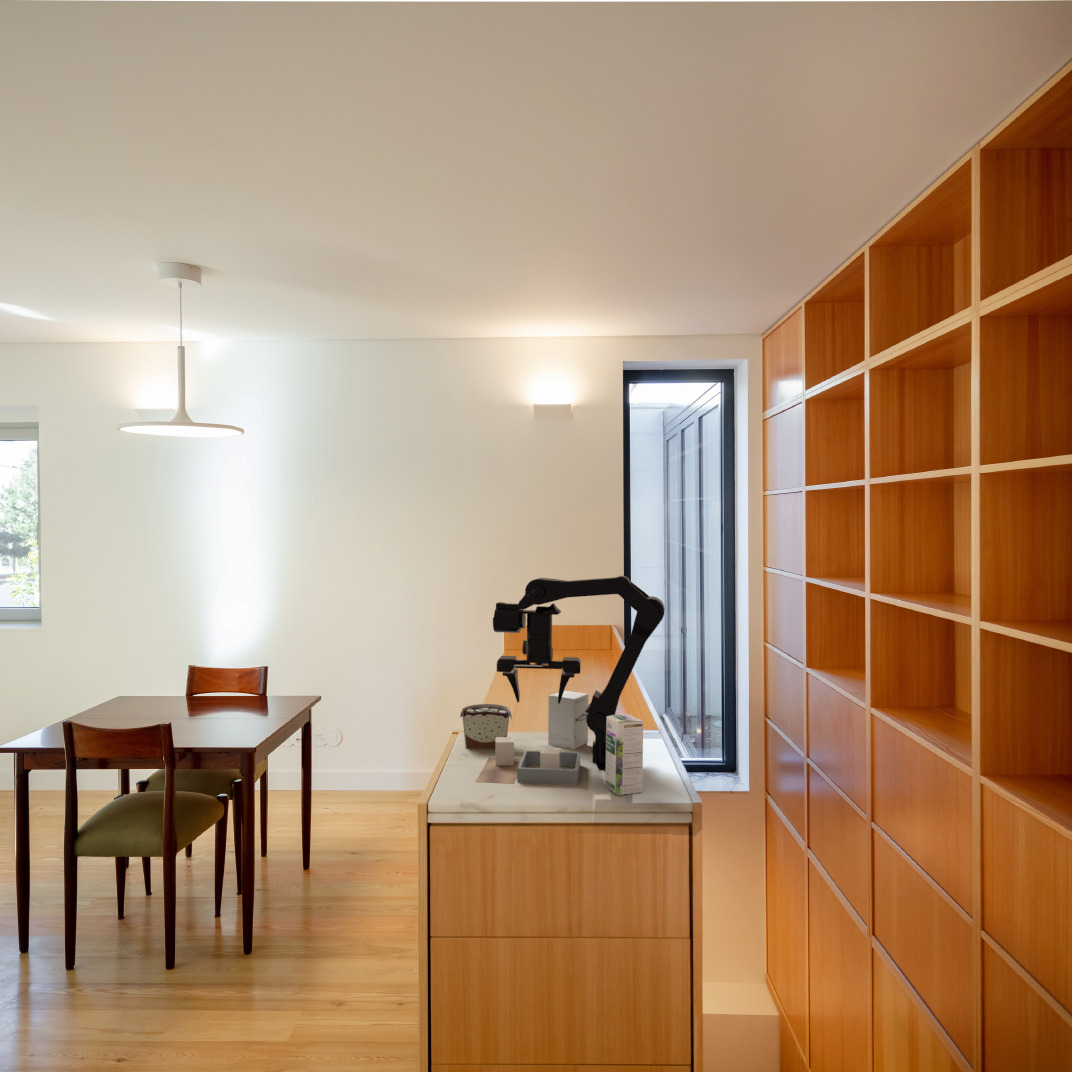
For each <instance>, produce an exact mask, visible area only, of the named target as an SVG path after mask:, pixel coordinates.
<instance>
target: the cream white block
mask: <svg viewBox="0 0 1072 1072" xmlns="http://www.w3.org/2000/svg"><path fill="white" fill-rule="evenodd" d="M494 751H495V752H494V753H495V754H494V755H495V757H494V758H495V765H514V758H515V739H514V736H507V737H495V749H494Z"/></svg>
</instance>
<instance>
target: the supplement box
mask: <svg viewBox="0 0 1072 1072" xmlns="http://www.w3.org/2000/svg"><path fill="white" fill-rule="evenodd" d="M558 694H559V691H558V692H556V693H553V694H550V695H548V712H547V713H548V715H547V716H548V718H547V719H548V721H547V722H548V723H547V726H548V727H547V729H548V730H547V744H548V745H549V746H553V747H558V748H565V749H571V750H576V749H577V748H579V747H580V746H583V745H585V744H586V745H587V743H588V744H589V727H588V725H587V722H586V717H587V714H588V713H586V712H585V711H586V709H587V707H588V705H589V693H585V692H578V691H573V690H571V691H569V690H564V692H563V695H562V698H561V702H560V704H558Z"/></svg>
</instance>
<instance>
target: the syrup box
mask: <svg viewBox="0 0 1072 1072" xmlns="http://www.w3.org/2000/svg"><path fill="white" fill-rule="evenodd" d="M643 748H644V720H643V719H639V718H637V717H636V716H634V715H631V714H627V713H626V714H625V713H624V714H623V713H622V714H620V713H618V714H615V715H611V716H607V722H606V769H605V779H604V780H605V781H604V783H605V787H606V789H609V790H610V791H611V792H612V793H614V794H615V795H617V796H618V795H621V796H624V795H623V794H628V795H632V794H631V793H634V794H638V793H642V792H643V771H644V768H643V765H644V763H643V761H644V760H643V759H644V757H643V756H644V749H643Z"/></svg>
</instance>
